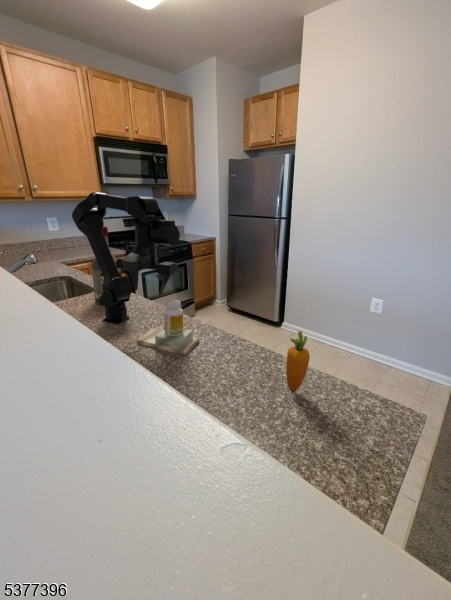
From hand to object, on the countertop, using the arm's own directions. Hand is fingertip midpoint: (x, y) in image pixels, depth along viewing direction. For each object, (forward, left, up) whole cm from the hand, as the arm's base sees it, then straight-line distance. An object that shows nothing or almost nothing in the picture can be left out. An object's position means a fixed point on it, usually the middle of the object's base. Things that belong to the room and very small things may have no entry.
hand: (147, 292), depth 86 cm
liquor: (-30, +15, -13) cm, 36 cm away
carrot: (+48, -13, -13) cm, 51 cm away
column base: (+10, -5, -13) cm, 17 cm away
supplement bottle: (+12, -5, -10) cm, 16 cm away
